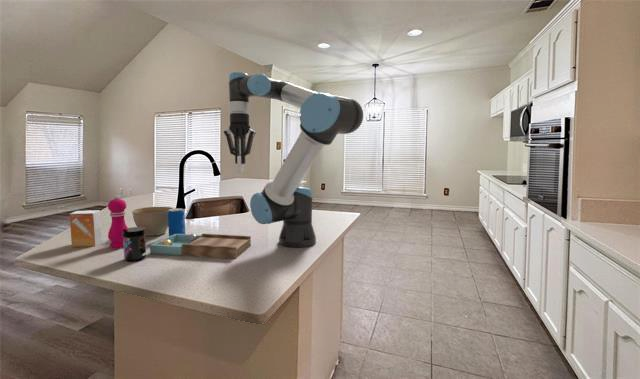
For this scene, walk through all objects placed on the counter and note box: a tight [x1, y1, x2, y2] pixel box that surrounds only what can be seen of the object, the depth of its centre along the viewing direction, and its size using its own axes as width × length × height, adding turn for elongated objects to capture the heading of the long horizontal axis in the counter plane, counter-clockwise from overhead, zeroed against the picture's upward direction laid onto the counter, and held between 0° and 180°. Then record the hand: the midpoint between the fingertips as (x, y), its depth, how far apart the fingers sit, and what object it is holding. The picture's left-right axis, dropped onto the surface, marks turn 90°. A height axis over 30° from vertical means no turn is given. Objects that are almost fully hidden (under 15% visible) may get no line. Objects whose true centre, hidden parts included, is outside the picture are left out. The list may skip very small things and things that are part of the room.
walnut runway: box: [182, 233, 252, 260], centre depth 122 cm, size 20×15×4 cm
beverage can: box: [167, 207, 186, 237], centre depth 139 cm, size 6×6×12 cm
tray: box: [149, 233, 202, 257], centre depth 125 cm, size 12×16×3 cm
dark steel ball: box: [187, 233, 198, 243], centre depth 128 cm, size 4×4×4 cm
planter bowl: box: [131, 206, 174, 237], centre depth 144 cm, size 16×16×11 cm
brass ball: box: [160, 238, 172, 246], centre depth 120 cm, size 4×4×4 cm
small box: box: [69, 209, 103, 248], centre depth 127 cm, size 8×6×13 cm
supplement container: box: [122, 226, 147, 263], centre depth 112 cm, size 7×7×10 cm
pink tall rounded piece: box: [107, 194, 129, 250], centre depth 125 cm, size 7×7×20 cm
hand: (240, 171), depth 134 cm, fingers closed
